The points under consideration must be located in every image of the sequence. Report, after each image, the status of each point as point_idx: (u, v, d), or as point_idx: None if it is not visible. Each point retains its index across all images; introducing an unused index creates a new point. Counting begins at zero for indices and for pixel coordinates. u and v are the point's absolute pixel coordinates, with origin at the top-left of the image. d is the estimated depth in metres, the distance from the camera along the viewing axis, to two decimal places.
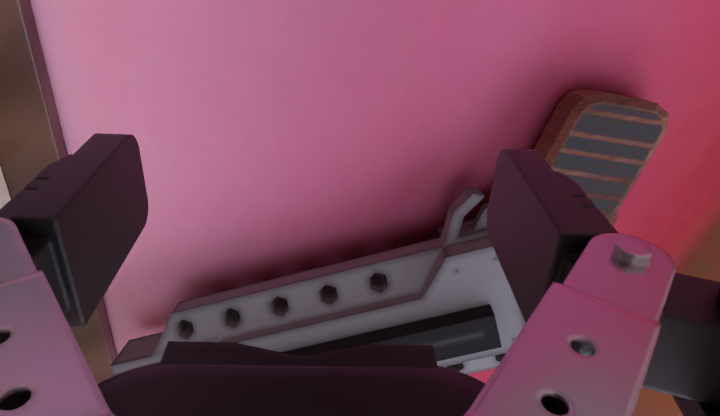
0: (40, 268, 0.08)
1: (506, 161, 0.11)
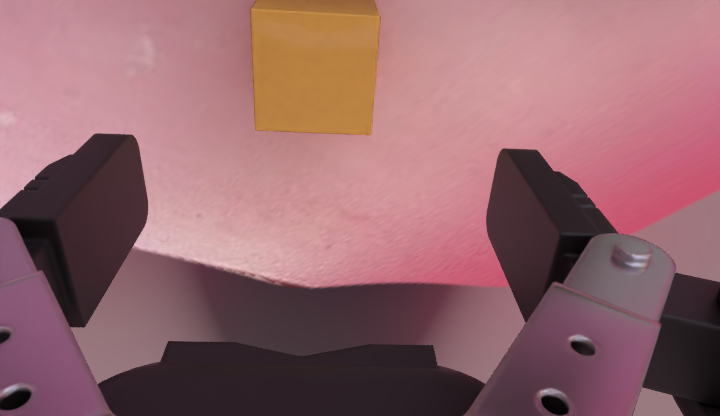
0: (40, 268, 0.08)
1: (506, 161, 0.11)
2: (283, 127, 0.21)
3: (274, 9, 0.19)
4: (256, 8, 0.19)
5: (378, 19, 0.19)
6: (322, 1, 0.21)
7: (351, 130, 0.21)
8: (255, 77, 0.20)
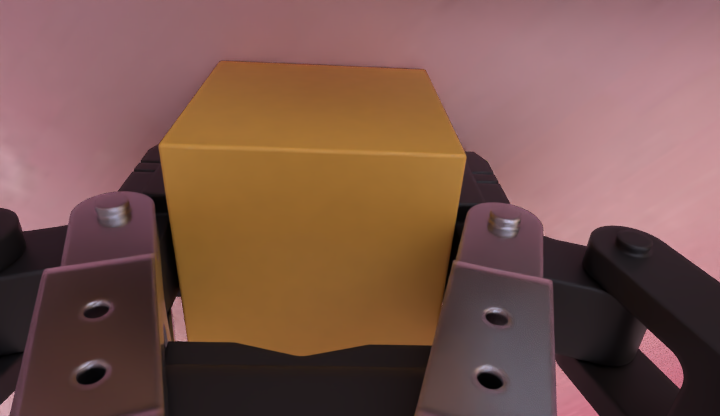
0: (168, 239, 0.09)
1: None
2: None
3: (216, 143, 0.08)
4: (173, 142, 0.08)
5: (462, 161, 0.08)
6: (330, 101, 0.10)
7: None
8: (182, 278, 0.09)
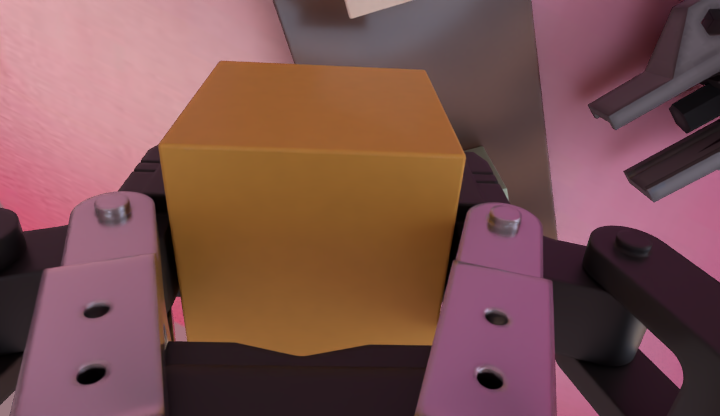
0: (168, 239, 0.09)
1: None
2: None
3: (216, 143, 0.08)
4: (172, 142, 0.08)
5: (461, 162, 0.08)
6: (329, 101, 0.10)
7: None
8: (182, 278, 0.09)
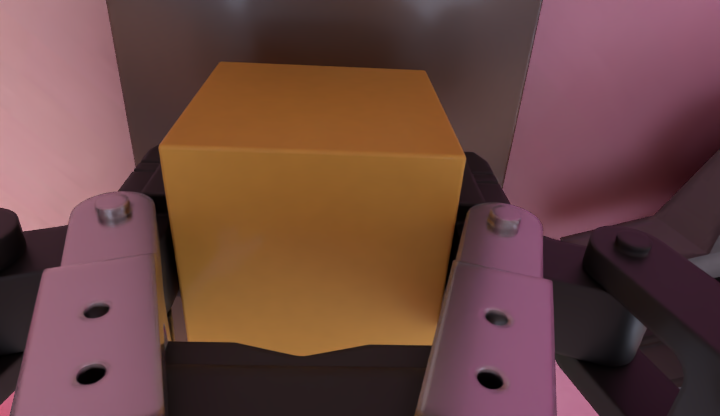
0: (168, 239, 0.09)
1: None
2: None
3: (216, 144, 0.08)
4: (173, 143, 0.08)
5: (461, 163, 0.08)
6: (330, 102, 0.10)
7: None
8: (182, 279, 0.09)
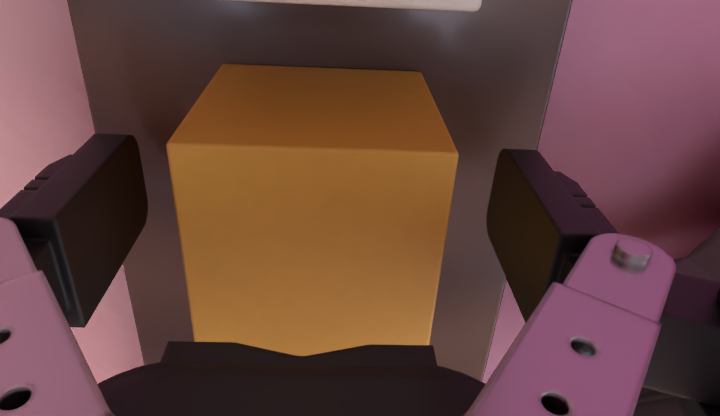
0: (40, 268, 0.08)
1: (506, 161, 0.11)
2: None
3: (221, 142, 0.08)
4: (180, 141, 0.08)
5: (454, 159, 0.09)
6: (329, 102, 0.10)
7: None
8: (188, 271, 0.09)
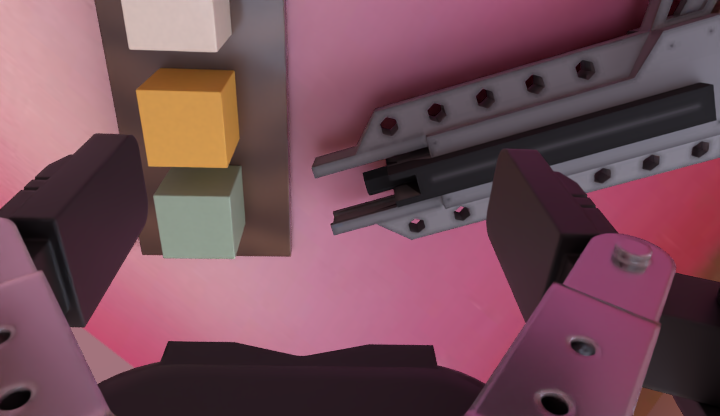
0: (40, 268, 0.08)
1: (506, 161, 0.11)
2: (167, 164, 0.31)
3: (151, 89, 0.29)
4: (139, 89, 0.29)
5: (220, 94, 0.29)
6: (191, 79, 0.31)
7: (213, 164, 0.31)
8: (144, 132, 0.30)
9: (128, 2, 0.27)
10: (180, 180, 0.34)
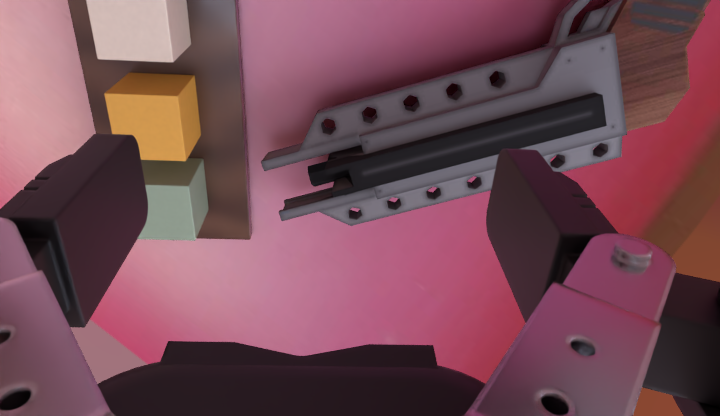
0: (40, 268, 0.08)
1: (506, 161, 0.11)
2: None
3: (118, 93, 0.34)
4: (107, 92, 0.34)
5: (177, 97, 0.34)
6: (154, 84, 0.36)
7: (173, 158, 0.36)
8: (112, 129, 0.35)
9: (95, 19, 0.31)
10: (147, 170, 0.39)
